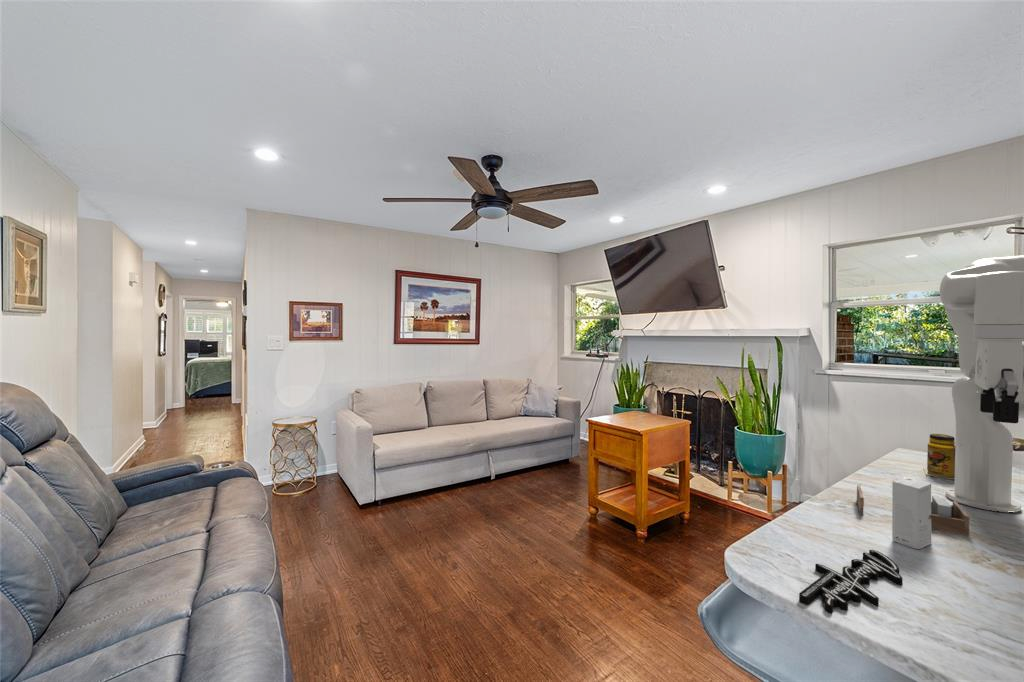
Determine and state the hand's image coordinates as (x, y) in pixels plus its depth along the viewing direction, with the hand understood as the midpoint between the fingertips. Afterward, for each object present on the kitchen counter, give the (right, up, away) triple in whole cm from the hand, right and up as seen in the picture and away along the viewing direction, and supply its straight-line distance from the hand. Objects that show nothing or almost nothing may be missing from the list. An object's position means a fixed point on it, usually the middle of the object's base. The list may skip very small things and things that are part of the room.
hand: (998, 417), depth 86 cm
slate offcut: (-3, -25, +8) cm, 27 cm away
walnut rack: (-8, -25, +11) cm, 29 cm away
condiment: (+30, -25, +41) cm, 57 cm away
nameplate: (-41, -26, -14) cm, 51 cm away
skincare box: (-18, -26, 0) cm, 31 cm away
